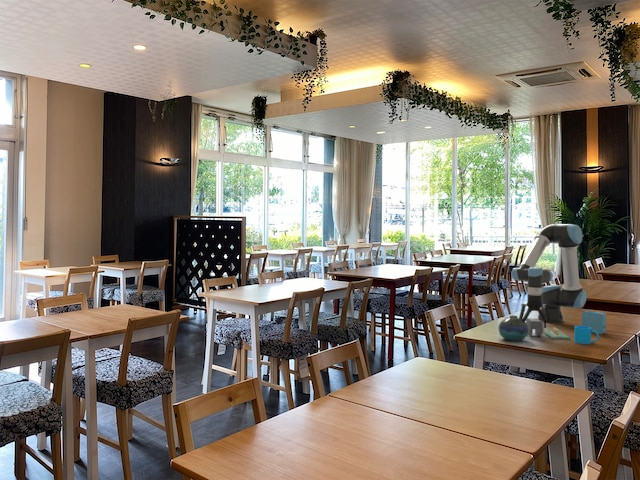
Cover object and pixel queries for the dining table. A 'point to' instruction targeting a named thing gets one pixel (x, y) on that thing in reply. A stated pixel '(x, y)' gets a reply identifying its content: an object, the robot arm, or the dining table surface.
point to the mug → (583, 335)
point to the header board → (548, 333)
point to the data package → (594, 321)
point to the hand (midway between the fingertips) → (533, 333)
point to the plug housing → (534, 326)
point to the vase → (513, 329)
